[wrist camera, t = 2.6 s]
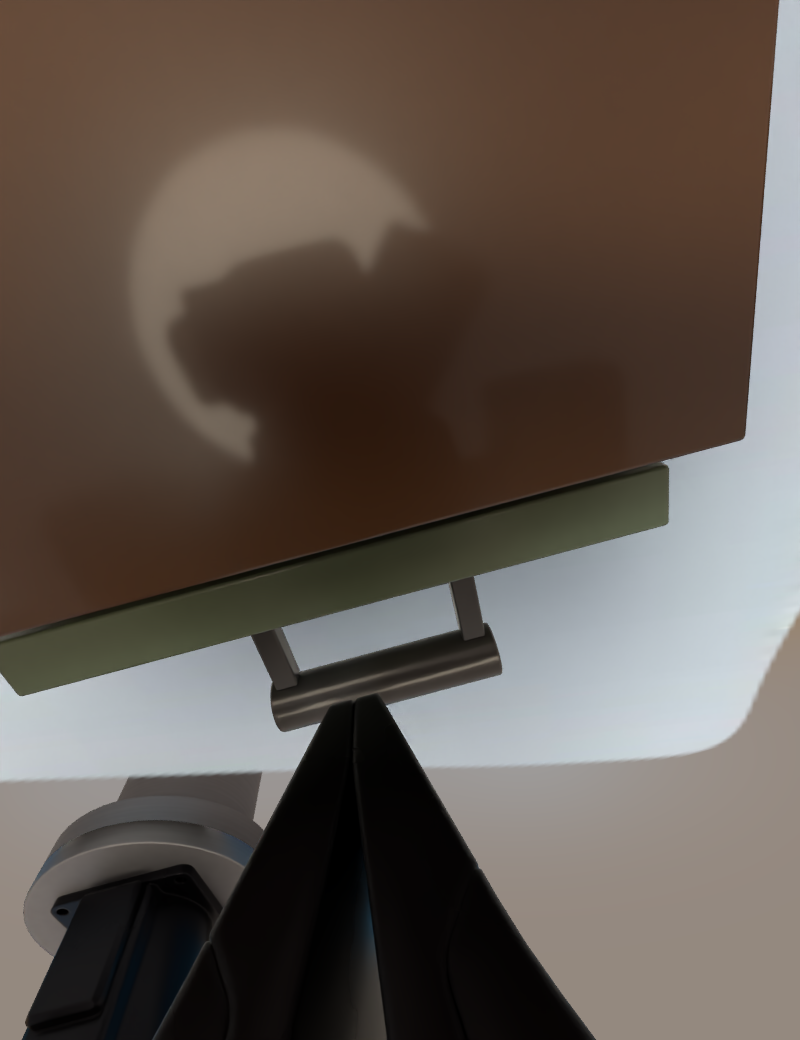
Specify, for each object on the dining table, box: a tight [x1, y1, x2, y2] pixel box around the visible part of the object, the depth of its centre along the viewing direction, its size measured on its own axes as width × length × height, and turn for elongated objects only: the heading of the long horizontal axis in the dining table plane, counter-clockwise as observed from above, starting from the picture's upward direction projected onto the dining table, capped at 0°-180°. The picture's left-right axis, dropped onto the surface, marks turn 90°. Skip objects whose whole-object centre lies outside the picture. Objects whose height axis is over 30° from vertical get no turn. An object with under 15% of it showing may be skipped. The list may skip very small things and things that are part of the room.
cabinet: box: [0, 0, 779, 637], centre depth 8 cm, size 16×14×9 cm
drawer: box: [0, 462, 669, 732], centre depth 10 cm, size 19×12×7 cm, turn 14°
